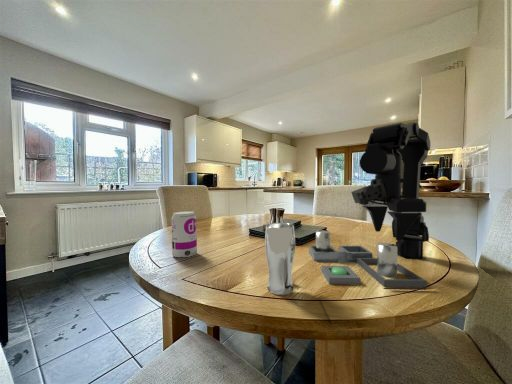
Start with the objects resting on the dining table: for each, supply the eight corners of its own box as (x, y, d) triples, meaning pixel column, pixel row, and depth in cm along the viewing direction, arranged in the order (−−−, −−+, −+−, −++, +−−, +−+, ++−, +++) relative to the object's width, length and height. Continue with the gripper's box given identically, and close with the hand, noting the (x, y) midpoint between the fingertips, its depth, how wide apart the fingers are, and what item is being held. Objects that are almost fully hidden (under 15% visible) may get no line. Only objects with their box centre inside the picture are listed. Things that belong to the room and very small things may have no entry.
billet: (390, 272, 56) (390, 242, 56) (401, 279, 52) (401, 247, 51) (373, 271, 56) (374, 242, 56) (382, 279, 52) (383, 247, 52)
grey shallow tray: (359, 254, 71) (359, 244, 71) (374, 266, 61) (374, 254, 61) (308, 254, 72) (308, 244, 72) (315, 265, 62) (314, 254, 62)
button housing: (348, 275, 55) (348, 266, 55) (359, 288, 48) (359, 277, 48) (321, 275, 56) (321, 265, 56) (329, 288, 49) (329, 277, 49)
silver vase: (288, 299, 44) (287, 229, 44) (259, 291, 48) (259, 226, 47) (299, 286, 50) (299, 224, 49) (273, 279, 54) (273, 221, 53)
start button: (343, 274, 54) (343, 267, 54) (349, 281, 50) (349, 273, 50) (329, 274, 54) (329, 267, 54) (334, 281, 50) (334, 273, 50)
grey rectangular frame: (388, 266, 61) (389, 258, 61) (426, 291, 47) (426, 280, 47) (356, 266, 61) (356, 258, 61) (384, 291, 47) (384, 280, 47)
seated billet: (327, 254, 69) (327, 230, 69) (332, 259, 65) (332, 233, 64) (314, 254, 69) (314, 230, 69) (317, 259, 65) (317, 233, 65)
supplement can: (201, 253, 75) (201, 211, 74) (182, 260, 68) (181, 214, 67) (186, 249, 79) (185, 210, 79) (167, 256, 72) (166, 213, 72)
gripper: (342, 176, 63) (342, 228, 63) (374, 173, 44) (374, 246, 45) (380, 176, 62) (379, 227, 63) (429, 172, 44) (427, 246, 44)
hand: (387, 235), depth 54 cm, fingers open, 9 cm apart
